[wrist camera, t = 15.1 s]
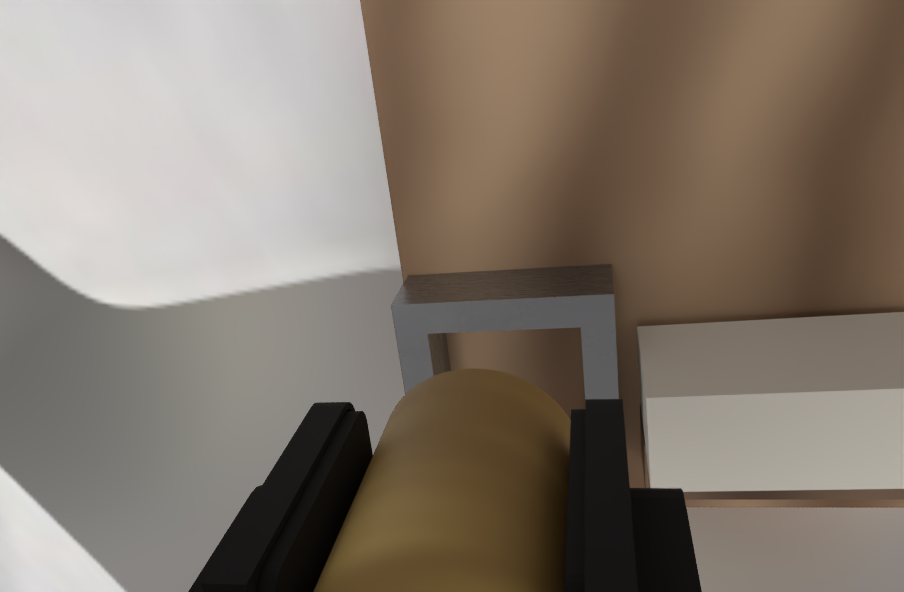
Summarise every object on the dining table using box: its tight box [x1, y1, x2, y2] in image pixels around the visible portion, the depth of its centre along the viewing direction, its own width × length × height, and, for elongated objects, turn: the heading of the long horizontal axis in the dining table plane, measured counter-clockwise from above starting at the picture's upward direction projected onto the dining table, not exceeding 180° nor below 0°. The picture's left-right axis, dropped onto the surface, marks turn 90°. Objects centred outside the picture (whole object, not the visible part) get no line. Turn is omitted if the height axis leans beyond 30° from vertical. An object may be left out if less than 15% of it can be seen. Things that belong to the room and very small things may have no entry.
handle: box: [637, 312, 904, 492], centre depth 22 cm, size 13×4×5 cm, turn 97°
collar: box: [391, 264, 619, 420], centre depth 25 cm, size 7×7×2 cm
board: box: [360, 0, 904, 507], centre depth 23 cm, size 28×20×4 cm
